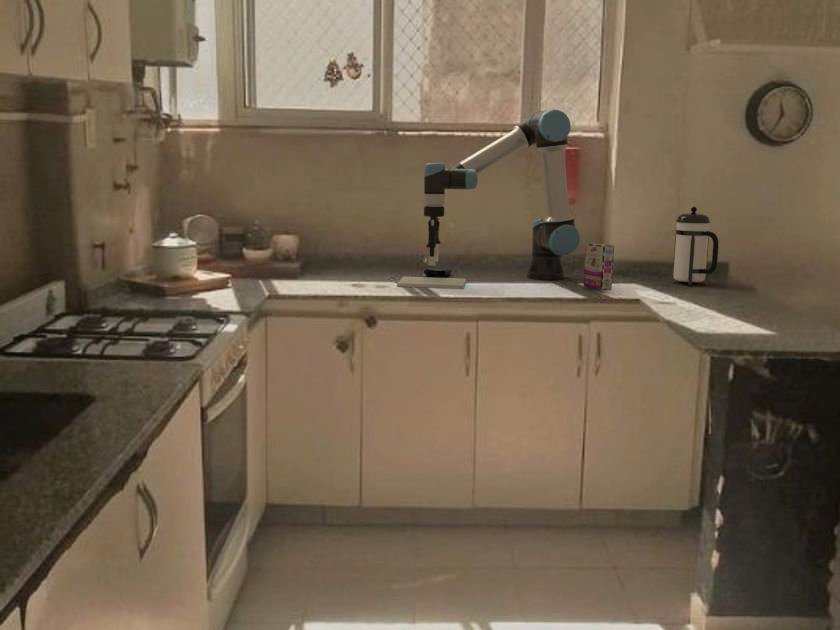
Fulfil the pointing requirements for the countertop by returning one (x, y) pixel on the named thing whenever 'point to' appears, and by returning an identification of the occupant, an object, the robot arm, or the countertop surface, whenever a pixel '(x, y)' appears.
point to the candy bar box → (598, 266)
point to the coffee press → (693, 248)
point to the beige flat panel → (432, 282)
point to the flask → (437, 272)
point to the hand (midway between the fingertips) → (433, 263)
